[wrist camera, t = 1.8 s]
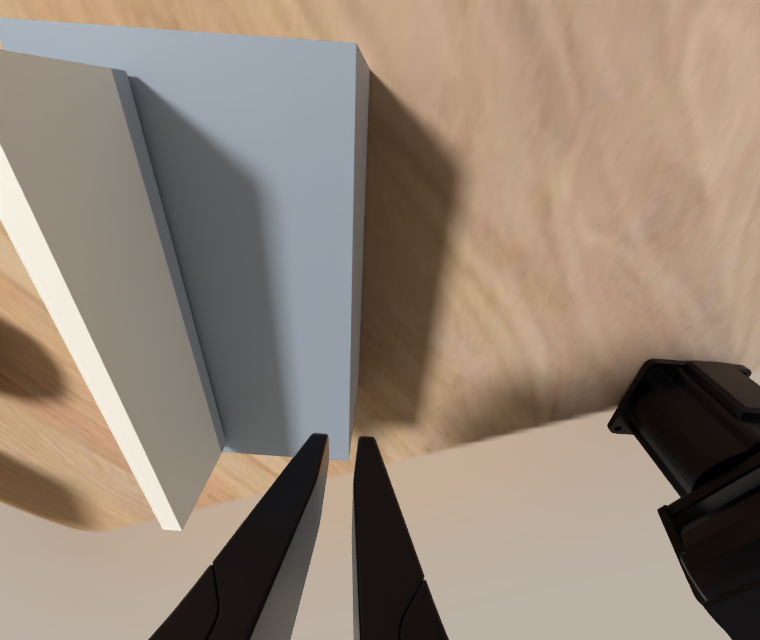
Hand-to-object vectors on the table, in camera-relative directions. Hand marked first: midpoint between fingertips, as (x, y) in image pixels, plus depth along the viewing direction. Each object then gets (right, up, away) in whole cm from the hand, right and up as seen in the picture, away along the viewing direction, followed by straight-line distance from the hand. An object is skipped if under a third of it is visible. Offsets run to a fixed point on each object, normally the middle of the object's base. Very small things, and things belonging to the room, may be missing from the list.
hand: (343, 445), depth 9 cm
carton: (-5, +7, +10) cm, 13 cm away
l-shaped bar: (-8, +4, +5) cm, 10 cm away
